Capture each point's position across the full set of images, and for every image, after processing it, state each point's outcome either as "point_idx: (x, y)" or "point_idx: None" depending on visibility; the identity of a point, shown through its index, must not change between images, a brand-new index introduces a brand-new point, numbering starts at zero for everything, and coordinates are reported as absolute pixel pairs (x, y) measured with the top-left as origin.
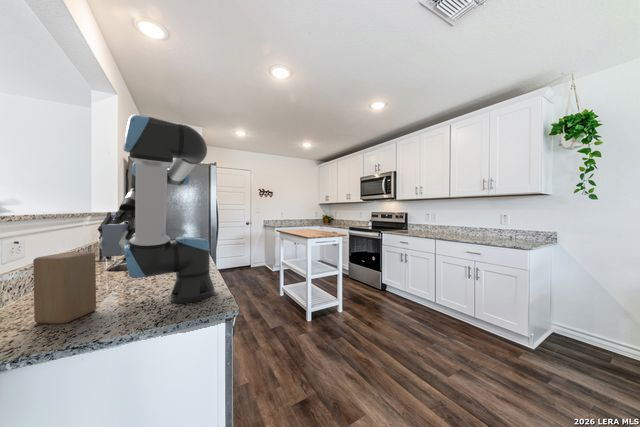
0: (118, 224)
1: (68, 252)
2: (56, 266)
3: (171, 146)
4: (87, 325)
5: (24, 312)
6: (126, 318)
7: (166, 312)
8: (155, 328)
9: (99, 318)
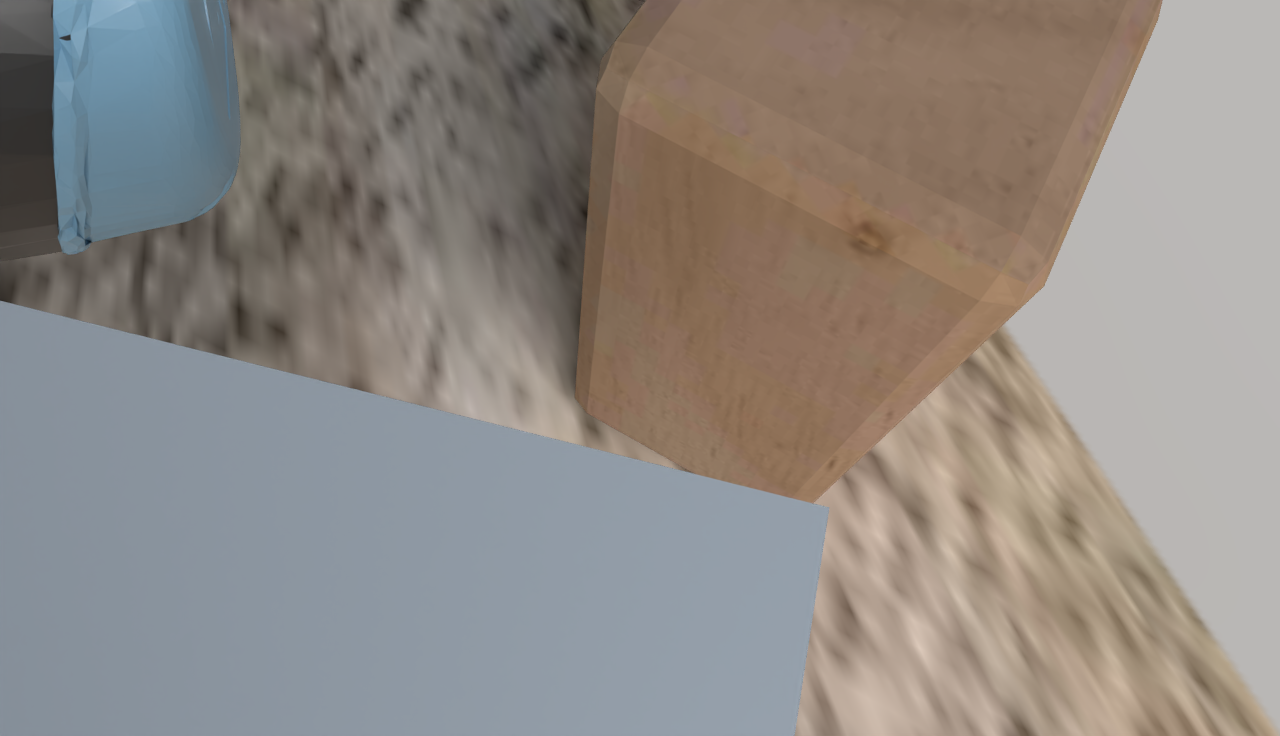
0: (52, 541)
1: (994, 197)
2: None
3: None
4: (544, 148)
5: (1122, 658)
6: (334, 143)
7: None
8: None
9: (505, 230)
